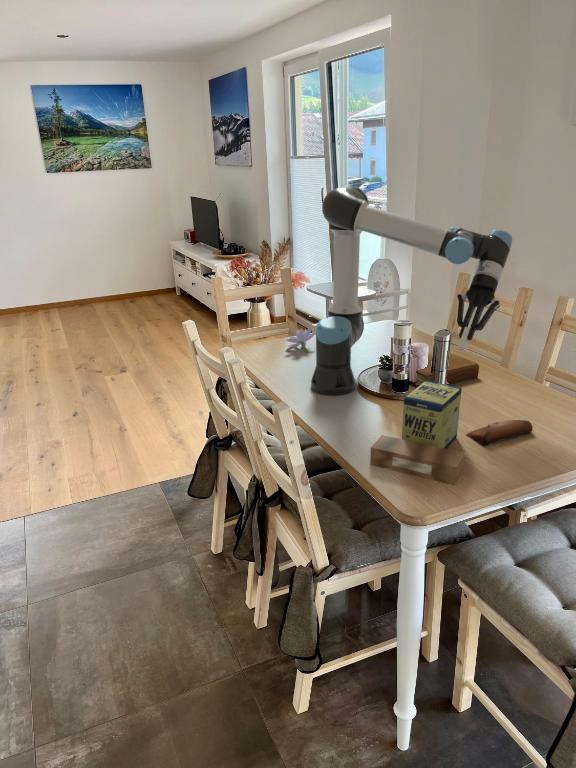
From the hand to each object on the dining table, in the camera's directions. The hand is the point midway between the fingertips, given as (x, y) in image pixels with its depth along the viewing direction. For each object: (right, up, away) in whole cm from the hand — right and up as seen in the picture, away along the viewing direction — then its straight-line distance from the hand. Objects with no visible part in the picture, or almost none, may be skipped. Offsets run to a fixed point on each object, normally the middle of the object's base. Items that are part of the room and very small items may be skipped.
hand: (461, 348), depth 175 cm
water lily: (-46, +3, +66) cm, 80 cm away
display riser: (-19, -32, -24) cm, 44 cm away
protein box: (-13, -27, -12) cm, 32 cm away
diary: (+1, -8, +36) cm, 37 cm away
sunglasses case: (+8, -26, -8) cm, 28 cm away
